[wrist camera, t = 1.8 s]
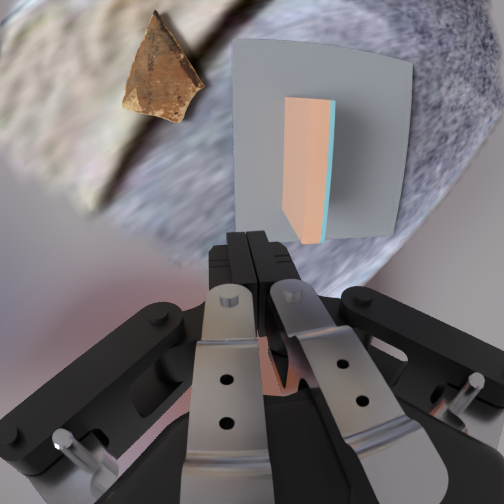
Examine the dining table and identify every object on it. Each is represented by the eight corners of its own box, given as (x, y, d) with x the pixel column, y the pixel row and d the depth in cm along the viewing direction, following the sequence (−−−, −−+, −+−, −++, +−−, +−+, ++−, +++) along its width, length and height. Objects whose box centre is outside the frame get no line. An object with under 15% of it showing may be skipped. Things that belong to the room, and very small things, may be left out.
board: (231, 41, 24) (232, 38, 23) (406, 63, 26) (412, 63, 25) (235, 240, 35) (236, 245, 34) (388, 231, 37) (392, 235, 36)
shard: (157, 12, 22) (154, 8, 20) (228, 30, 24) (229, 26, 22) (121, 107, 26) (116, 108, 25) (190, 125, 28) (189, 127, 27)
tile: (284, 96, 26) (310, 98, 20) (304, 97, 27) (335, 100, 20) (282, 209, 32) (302, 244, 25) (299, 208, 33) (324, 243, 26)
